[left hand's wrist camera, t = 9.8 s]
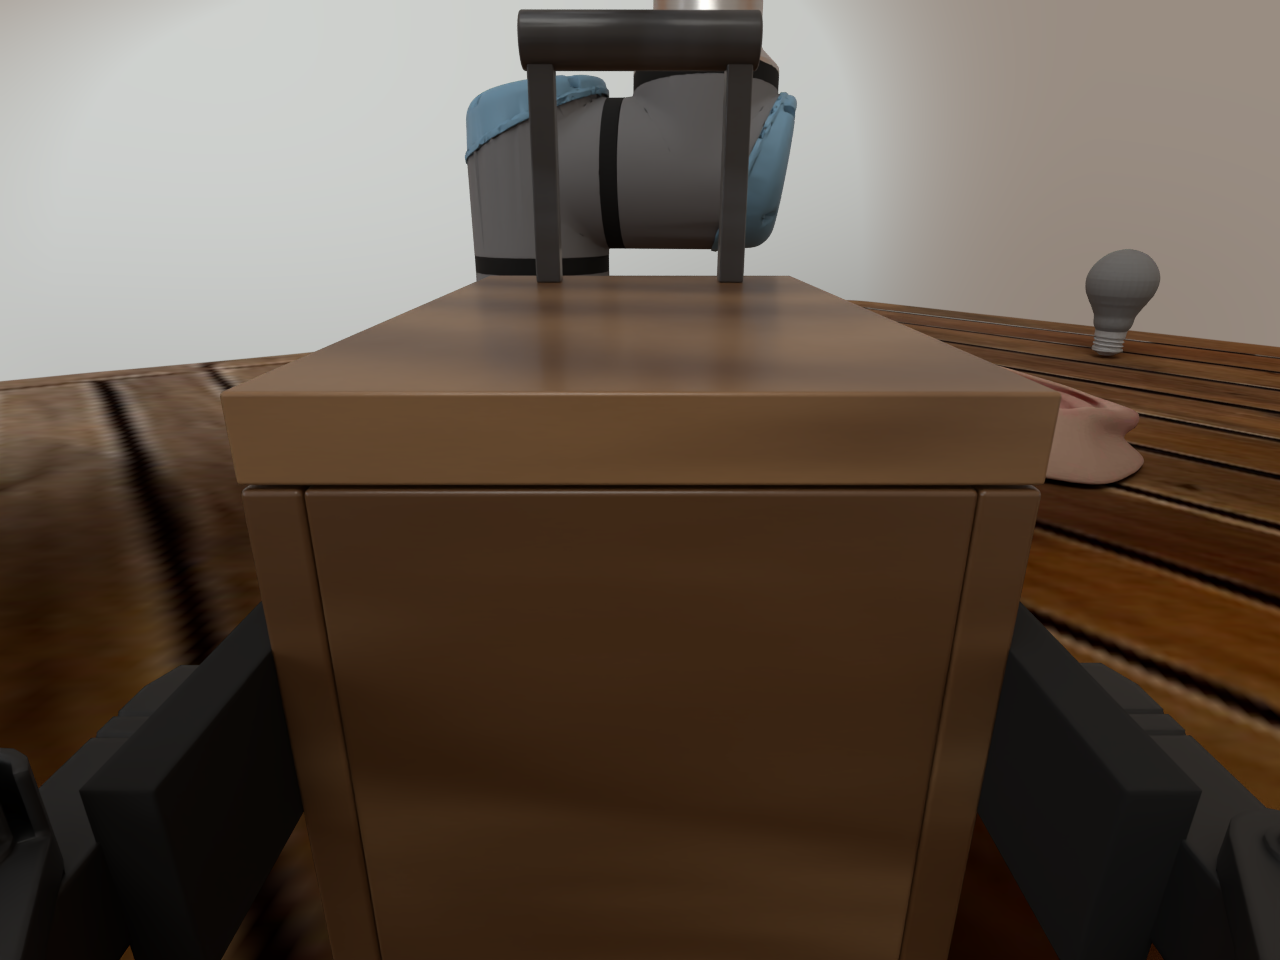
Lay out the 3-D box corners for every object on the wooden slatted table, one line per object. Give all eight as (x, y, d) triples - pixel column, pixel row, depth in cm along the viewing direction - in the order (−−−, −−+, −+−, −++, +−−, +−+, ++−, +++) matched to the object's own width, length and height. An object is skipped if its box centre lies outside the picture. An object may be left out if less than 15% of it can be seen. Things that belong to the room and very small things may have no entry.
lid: (491, 312, 24) (472, 29, 21) (788, 312, 24) (807, 30, 21) (236, 486, 9) (51, -429, 6) (1045, 487, 9) (1231, -425, 6)
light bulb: (1086, 359, 71) (1108, 250, 67) (1062, 348, 76) (1082, 247, 73) (1153, 361, 70) (1180, 251, 67) (1124, 350, 76) (1147, 248, 72)
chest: (506, 611, 27) (485, 317, 23) (772, 611, 27) (793, 317, 23) (353, 1072, 12) (237, 489, 9) (927, 1071, 12) (1044, 490, 9)
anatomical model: (1180, 419, 36) (929, 395, 40) (1160, 495, 37) (920, 464, 42) (1138, 369, 47) (945, 354, 52) (1124, 428, 48) (938, 410, 53)
